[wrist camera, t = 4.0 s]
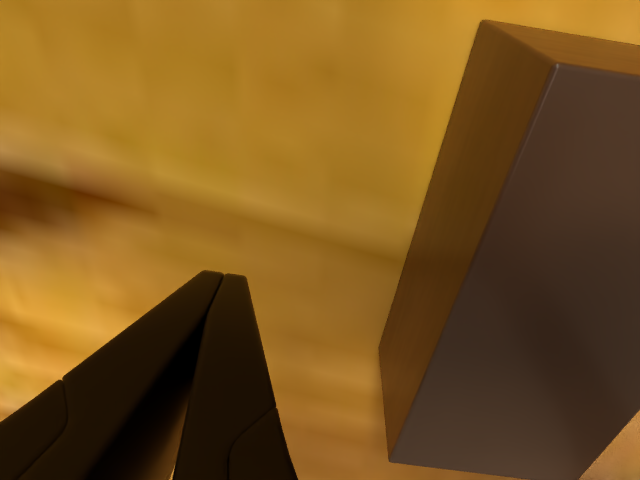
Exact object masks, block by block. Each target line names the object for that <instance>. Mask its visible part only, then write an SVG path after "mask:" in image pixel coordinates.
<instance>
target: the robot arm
mask: <svg viewBox="0 0 640 480" xmlns="http://www.w3.org/2000/svg"><path fill="white" fill-rule="evenodd" d="M62 380H63V381H62ZM62 380H58V381H56V382H55V383H54V384H52V385H51V386H50V387H48V388H47V389H46V390H44V391H43V392H42V393H40V394H39V395H38V396H36V397H35V398H34V399H32V400H31V401H29V402H28V403H27V404H25V405H24V406H22V407H21V408H20V409H18V410H17V411H16V412H14V413H13V414H11V415H10V416H9V417H7V418H6V419H4V420H3V421H1V422H0V480H169V479H170V477H171V474H172V471H173V469H174V466H175V469H174V474H173V479H172V480H298V478H297V475H296V472H295V469H294V466H293V463H292V461H291V458H290V455H289V451H288V448H287V444H286V440H285V437H284V433H283V430H282V426H281V422H280V417H279V413H278V409H277V408H276V402H275V397H274V393H273V389H272V384H271V380H270V376H269V372H268V367H267V363H266V359H265V355H264V350H263V346H262V342H261V338H260V333H259V329H258V325H257V321H256V316H255V312H254V308H253V304H252V299H251V295H250V291H249V287H248V282H247V279H246V277H245V276H243V275H236V274H226V275H225V276H224V274H223V273H221V272H215V271H207V270H204V271H202V272H200V273H199V274H197V275H196V276H195V277H194V278H192V279H191V280H190V281H188V282H187V283H186V284H184V285H183V286H182V287H180V288H179V289H178V290H176V291H175V292H174V293H172V294H171V295H170V296H168V297H167V298H166V299H165V300H163V301H162V302H161V303H159V304H158V305H157V306H155V307H154V308H153V309H151V310H150V311H149V312H147V313H146V314H145V315H143V316H142V317H141V318H139V319H138V320H137V321H136V322H134V323H133V324H132V325H130V326H129V327H128V328H126V329H125V330H124V331H122V332H121V333H120V334H118V335H117V336H116V337H114V338H113V339H112V340H111V341H109V342H108V343H107V344H105V345H104V346H103V347H101V348H100V349H99V350H97V351H96V352H95V353H93V354H92V355H91V356H89V357H88V358H87V359H85V360H84V361H83V362H82V363H80V364H79V365H78V366H76V367H75V368H74V369H72V370H71V371H70V372H68V373H67V374H66V375H64V376H63V378H62ZM175 463H176V464H175Z"/></svg>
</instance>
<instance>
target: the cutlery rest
mask: <svg viewBox="0 0 640 480" xmlns="http://www.w3.org/2000/svg"><path fill="white" fill-rule="evenodd" d="M379 356H380V367H381V379H382V391H383V402H384V414H385V425H386V437H387V449H388V459H389V462H391V463H399V464H407V465H415V466H424V467H432V468H440V469H448V470H456V471H464V472H472V473H481V474H489V475H497V476H505V477H513V478H521V479H529V480H578V479H579V478H580V477H581V476H582V475H583V473H584V472H585V471H586V470H587V469H588V468H589V467H590V466H591V464H592V463H593V462H594V461H595V460H596V459H597V458H598V456H599V455H600V454H601V453H602V452H603V451H604V450H605V449H606V447H607V446H608V445H609V444H610V443H611V442H612V441H613V439H614V438H615V437H616V436H617V435H618V434H619V433H620V432H621V430H622V429H623V428H624V427H625V426H626V425H627V424H628V422H629V421H630V420H631V419H632V418H633V417H634V416H635V415H636V413H637V412H638V411H639V410H640V46H639V45H633V44H627V43H621V42H615V41H609V40H603V39H597V38H591V37H586V36H580V35H574V34H568V33H562V32H556V31H550V30H544V29H538V28H532V27H526V26H520V25H514V24H508V23H502V22H496V21H490V20H482V22H481V23H480V26H479V29H478V32H477V35H476V38H475V42H474V45H473V48H472V51H471V54H470V58H469V61H468V64H467V67H466V70H465V74H464V77H463V80H462V83H461V86H460V89H459V93H458V96H457V99H456V102H455V105H454V109H453V112H452V115H451V118H450V121H449V125H448V128H447V131H446V134H445V137H444V141H443V144H442V147H441V150H440V153H439V157H438V160H437V163H436V166H435V169H434V172H433V176H432V179H431V182H430V185H429V188H428V192H427V195H426V198H425V201H424V204H423V208H422V211H421V214H420V217H419V220H418V224H417V227H416V230H415V233H414V236H413V240H412V243H411V246H410V249H409V252H408V255H407V259H406V262H405V265H404V268H403V271H402V275H401V278H400V281H399V284H398V287H397V291H396V294H395V297H394V300H393V303H392V307H391V310H390V313H389V316H388V319H387V323H386V326H385V329H384V332H383V335H382V338H381V342H380V345H379Z"/></svg>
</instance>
